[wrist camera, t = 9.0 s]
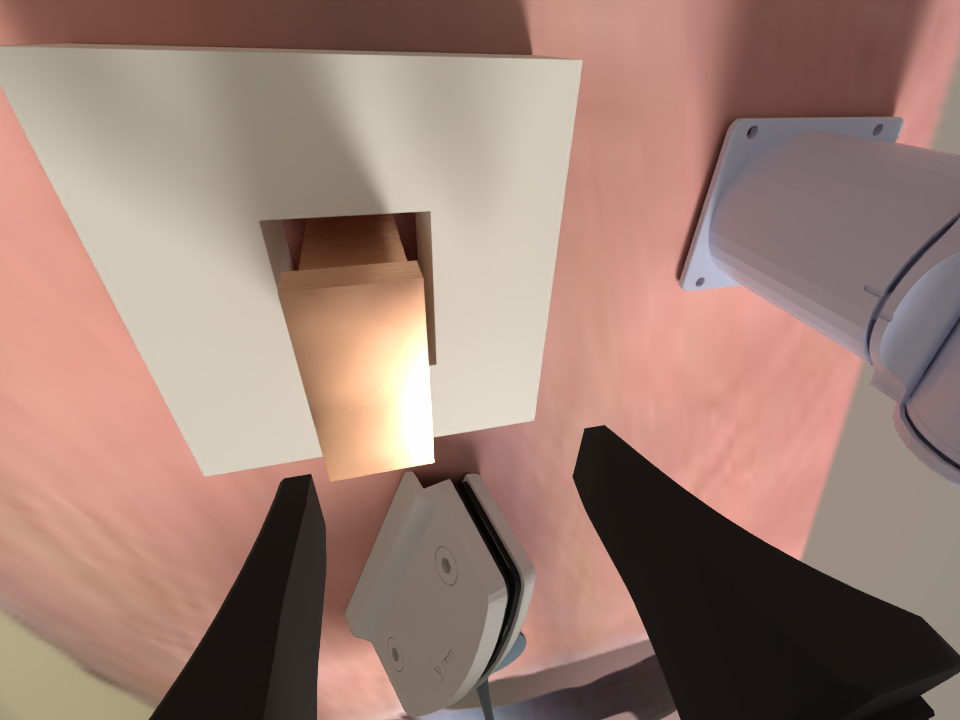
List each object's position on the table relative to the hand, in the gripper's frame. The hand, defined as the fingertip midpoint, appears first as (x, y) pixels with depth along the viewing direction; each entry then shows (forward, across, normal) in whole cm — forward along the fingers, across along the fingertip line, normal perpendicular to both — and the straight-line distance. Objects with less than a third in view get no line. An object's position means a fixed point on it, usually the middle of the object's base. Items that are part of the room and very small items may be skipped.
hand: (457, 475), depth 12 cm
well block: (+10, +2, -2) cm, 11 cm away
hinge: (+11, 0, +20) cm, 23 cm away
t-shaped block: (+10, +2, -2) cm, 11 cm away
